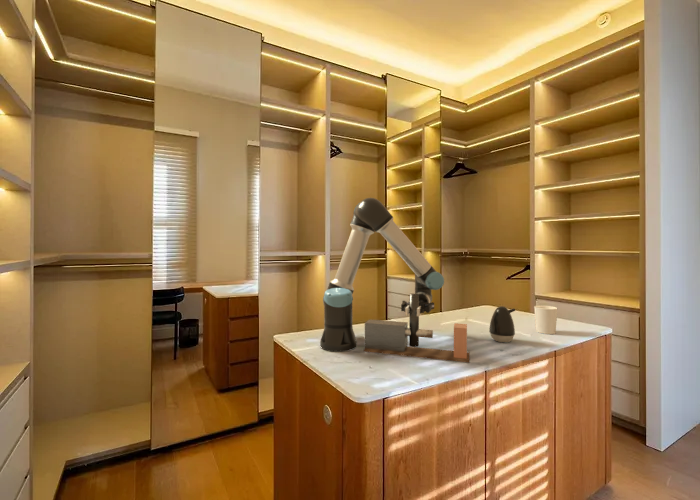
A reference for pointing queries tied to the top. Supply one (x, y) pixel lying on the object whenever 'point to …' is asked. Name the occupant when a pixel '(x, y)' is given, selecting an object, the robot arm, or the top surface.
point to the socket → (460, 340)
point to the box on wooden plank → (386, 335)
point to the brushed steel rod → (415, 323)
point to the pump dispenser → (502, 325)
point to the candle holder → (545, 319)
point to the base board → (424, 353)
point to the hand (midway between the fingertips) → (412, 312)
